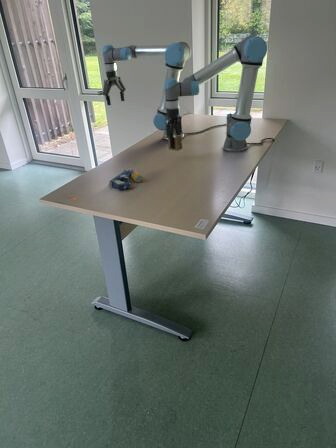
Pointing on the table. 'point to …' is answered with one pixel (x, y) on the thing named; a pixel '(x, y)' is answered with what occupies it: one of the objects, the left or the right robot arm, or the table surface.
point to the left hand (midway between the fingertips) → (116, 103)
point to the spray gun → (124, 179)
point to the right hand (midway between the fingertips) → (175, 146)
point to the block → (176, 142)
